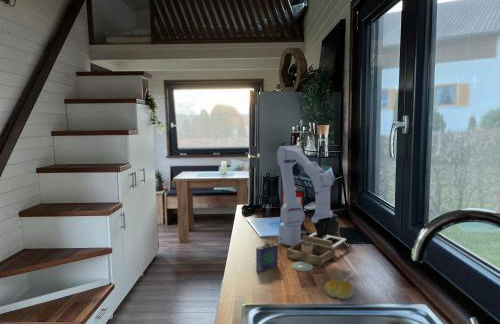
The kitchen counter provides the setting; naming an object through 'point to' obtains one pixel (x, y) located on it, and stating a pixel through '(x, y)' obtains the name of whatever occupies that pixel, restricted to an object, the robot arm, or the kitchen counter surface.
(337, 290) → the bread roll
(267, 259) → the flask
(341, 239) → the frame
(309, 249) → the brown cylinder
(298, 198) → the cleaning product box
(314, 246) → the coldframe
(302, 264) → the saucer
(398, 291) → the kitchen counter surface
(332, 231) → the supplement bottle
